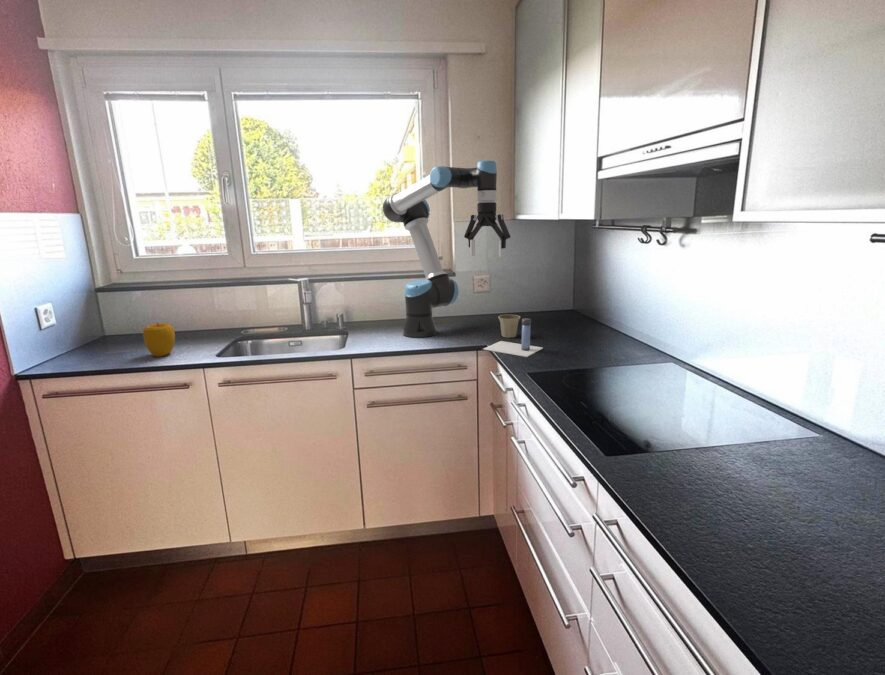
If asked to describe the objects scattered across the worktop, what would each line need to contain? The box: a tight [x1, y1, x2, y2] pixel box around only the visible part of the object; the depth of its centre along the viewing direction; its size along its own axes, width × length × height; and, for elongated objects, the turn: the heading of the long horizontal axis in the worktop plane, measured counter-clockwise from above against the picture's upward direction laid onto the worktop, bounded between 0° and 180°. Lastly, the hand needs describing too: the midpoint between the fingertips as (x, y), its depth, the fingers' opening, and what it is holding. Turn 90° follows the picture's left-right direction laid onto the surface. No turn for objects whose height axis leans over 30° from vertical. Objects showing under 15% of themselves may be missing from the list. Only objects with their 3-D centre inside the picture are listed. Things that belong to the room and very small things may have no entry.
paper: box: [482, 340, 544, 358], centre depth 187 cm, size 19×14×1 cm
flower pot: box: [498, 314, 521, 339], centre depth 206 cm, size 9×9×9 cm
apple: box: [142, 322, 176, 358], centre depth 187 cm, size 11×11×13 cm
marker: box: [521, 317, 532, 351], centre depth 184 cm, size 3×3×12 cm
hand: (486, 256), depth 195 cm, fingers open, 13 cm apart
